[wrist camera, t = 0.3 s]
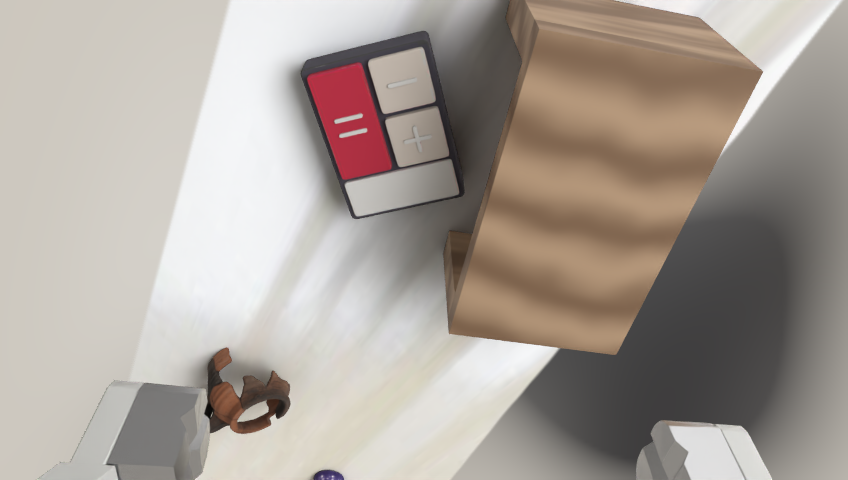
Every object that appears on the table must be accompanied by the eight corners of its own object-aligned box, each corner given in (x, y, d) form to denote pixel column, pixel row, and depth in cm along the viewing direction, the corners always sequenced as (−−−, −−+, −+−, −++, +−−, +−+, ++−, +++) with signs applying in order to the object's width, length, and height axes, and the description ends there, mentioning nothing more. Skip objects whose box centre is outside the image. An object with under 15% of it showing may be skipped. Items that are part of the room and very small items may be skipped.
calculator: (427, 41, 51) (466, 200, 59) (427, 26, 55) (463, 178, 63) (297, 73, 53) (352, 225, 61) (305, 57, 56) (355, 202, 64)
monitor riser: (515, -20, 52) (539, 28, 42) (699, 17, 54) (763, 71, 44) (443, 253, 68) (448, 333, 58) (587, 274, 70) (615, 354, 60)
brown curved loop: (237, 327, 74) (261, 385, 70) (289, 346, 82) (313, 398, 78) (165, 391, 76) (184, 451, 71) (222, 403, 84) (242, 458, 79)
